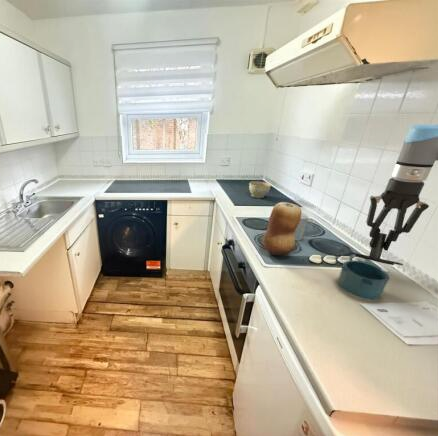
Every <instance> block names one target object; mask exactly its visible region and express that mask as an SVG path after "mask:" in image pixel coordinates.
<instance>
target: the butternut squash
mask: <svg viewBox="0 0 438 436" xmlns="http://www.w3.org/2000/svg"><path fill="white" fill-rule="evenodd" d="M301 213H302V214H303V211H302V208H301V207H300V206H299V205H298V204H294V203H291V202H286V201H285V202H284V201H281V202H277V204H275V205H273V208H272V209H271V213H270V215H269V217H268V218H269V219H268V226H267V228H266V231H265V232H264V234H263V236H262V243H263V246H264V248H265V250H267V252H268V253H269V254H270V255H272V256H285V255H288V254H290V253H291V252H292V251H294V249H295V246H296V240H295V236H294V232H295V230H296V228H297V226H298V224H299V222H300V219H301Z"/></svg>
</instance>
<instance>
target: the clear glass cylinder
mask: <svg viewBox="0 0 438 436" xmlns="http://www.w3.org/2000/svg"><path fill="white" fill-rule="evenodd" d="M309 218H310V217H309V215H307V214H306V213H303V212H302V213H301V219H300V222H299V224H298V226H297V228H296V230H295V232H294V236H295V241H300V240H303V237H304V234H305V230H306V227H307V223H308V221H309Z"/></svg>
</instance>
